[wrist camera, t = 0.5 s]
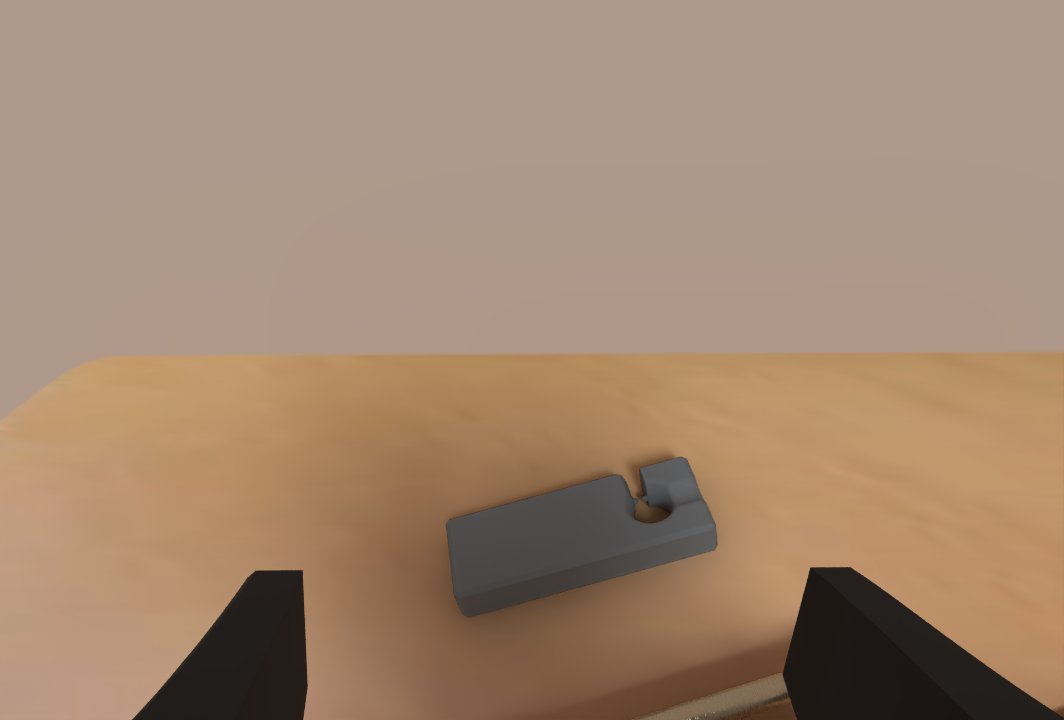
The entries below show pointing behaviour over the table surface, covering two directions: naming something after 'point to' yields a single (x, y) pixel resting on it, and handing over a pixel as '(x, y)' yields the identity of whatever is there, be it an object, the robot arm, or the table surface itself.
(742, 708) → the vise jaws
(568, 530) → the bracket
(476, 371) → the table surface
